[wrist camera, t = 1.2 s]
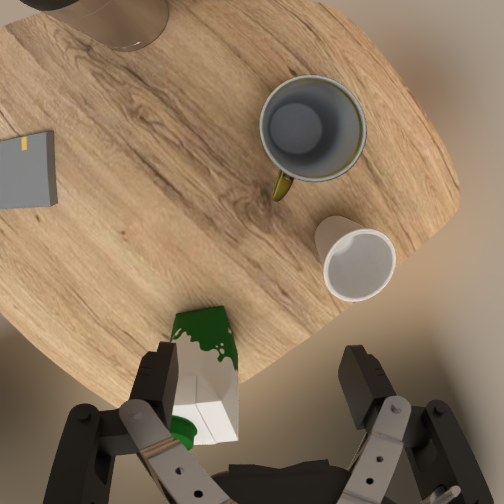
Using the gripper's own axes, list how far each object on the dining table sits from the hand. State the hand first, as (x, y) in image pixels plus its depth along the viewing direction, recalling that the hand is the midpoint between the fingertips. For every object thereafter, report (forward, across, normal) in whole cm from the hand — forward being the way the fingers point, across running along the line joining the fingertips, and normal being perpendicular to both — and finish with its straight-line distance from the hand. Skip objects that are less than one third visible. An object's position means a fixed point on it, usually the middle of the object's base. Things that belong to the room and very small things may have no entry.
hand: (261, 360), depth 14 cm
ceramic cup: (+27, -5, -9) cm, 29 cm away
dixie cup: (+27, -12, +3) cm, 29 cm away
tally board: (+27, +39, -5) cm, 48 cm away
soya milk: (+26, +4, +18) cm, 33 cm away
